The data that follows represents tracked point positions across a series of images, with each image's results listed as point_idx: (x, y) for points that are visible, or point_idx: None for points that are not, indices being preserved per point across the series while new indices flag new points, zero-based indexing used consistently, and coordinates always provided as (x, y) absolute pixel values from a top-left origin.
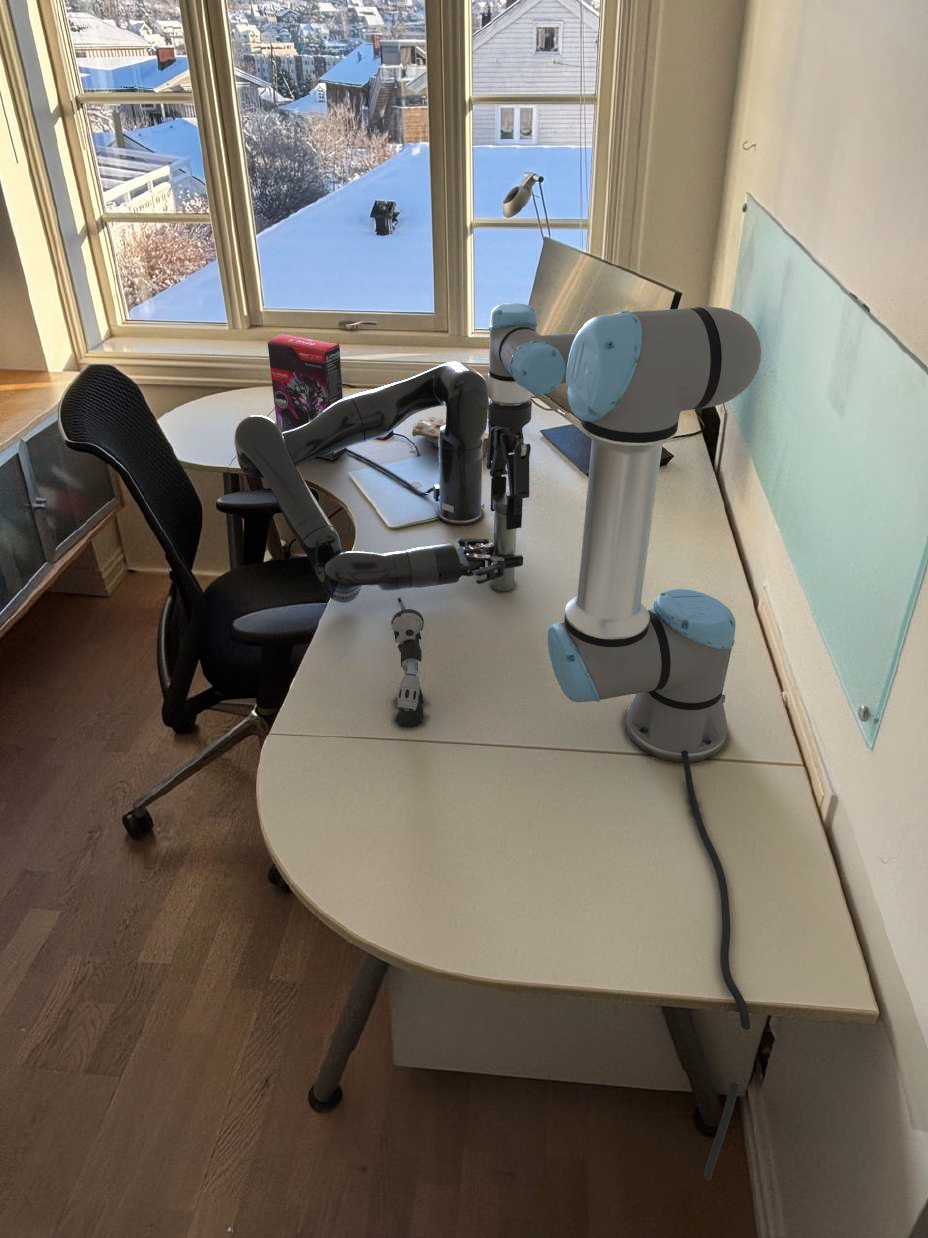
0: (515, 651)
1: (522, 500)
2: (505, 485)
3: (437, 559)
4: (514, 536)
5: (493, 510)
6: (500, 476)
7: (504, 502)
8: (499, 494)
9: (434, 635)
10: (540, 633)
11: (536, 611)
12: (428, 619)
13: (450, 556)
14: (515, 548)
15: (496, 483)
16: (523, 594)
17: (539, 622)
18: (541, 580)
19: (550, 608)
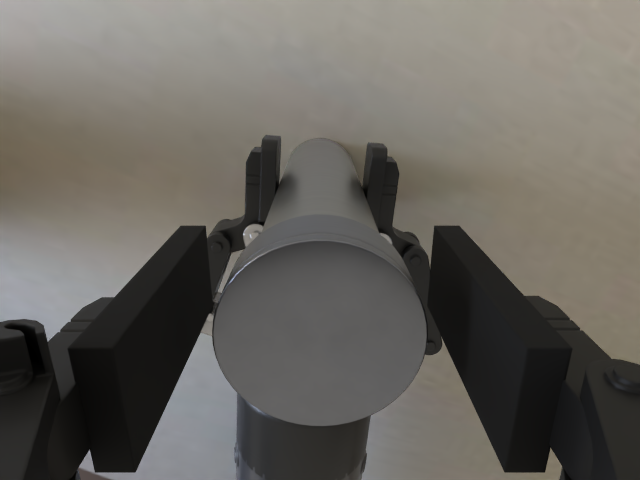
0: (632, 264)
1: (540, 317)
2: (149, 311)
3: (349, 470)
4: (366, 204)
5: (212, 300)
6: (76, 394)
7: (380, 375)
8: (240, 363)
9: (471, 407)
10: (599, 169)
11: (493, 132)
12: (402, 401)
13: (351, 435)
14: (344, 171)
15: (148, 408)
16: (389, 131)
17: (549, 148)
18: (331, 32)
19: (499, 81)
